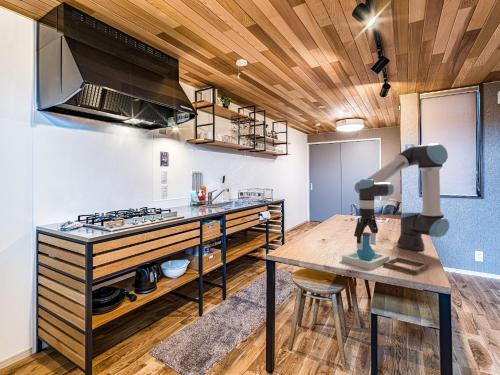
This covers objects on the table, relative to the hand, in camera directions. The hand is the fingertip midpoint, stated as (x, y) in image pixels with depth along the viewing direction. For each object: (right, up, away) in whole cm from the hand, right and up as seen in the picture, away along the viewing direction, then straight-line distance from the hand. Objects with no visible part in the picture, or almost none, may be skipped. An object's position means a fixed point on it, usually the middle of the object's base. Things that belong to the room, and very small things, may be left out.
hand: (366, 246), depth 142 cm
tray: (0, -8, 0) cm, 8 cm away
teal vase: (0, -8, 0) cm, 8 cm away
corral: (+16, -8, -8) cm, 20 cm away
